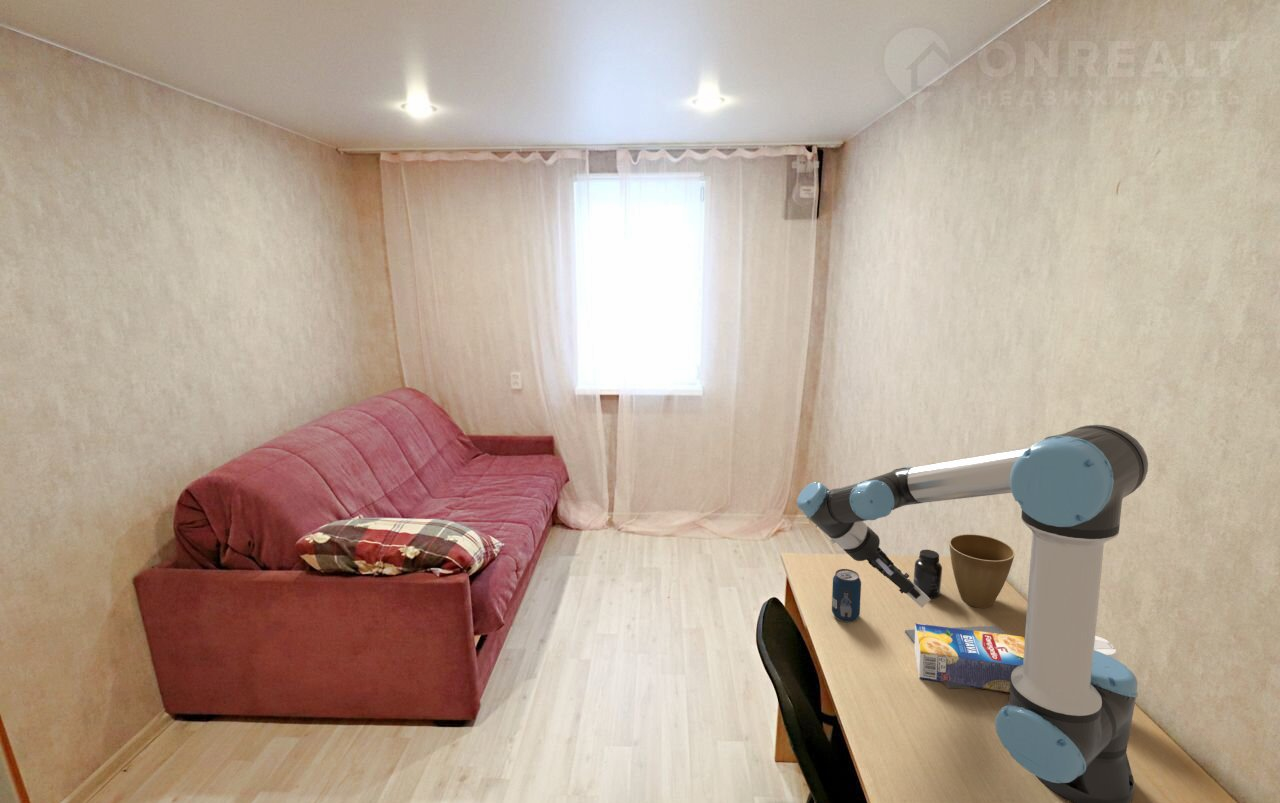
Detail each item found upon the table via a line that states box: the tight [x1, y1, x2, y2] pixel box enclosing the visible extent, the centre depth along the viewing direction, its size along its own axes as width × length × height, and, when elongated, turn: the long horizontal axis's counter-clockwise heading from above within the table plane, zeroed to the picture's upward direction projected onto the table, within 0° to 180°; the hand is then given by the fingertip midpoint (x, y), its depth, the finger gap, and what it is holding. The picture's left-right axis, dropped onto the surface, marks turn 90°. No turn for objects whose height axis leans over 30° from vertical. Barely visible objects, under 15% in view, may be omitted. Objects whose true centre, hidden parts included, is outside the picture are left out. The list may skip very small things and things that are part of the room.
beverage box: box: [914, 623, 1025, 694], centre depth 127 cm, size 7×11×22 cm
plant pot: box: [948, 533, 1016, 609], centre depth 153 cm, size 15×15×16 cm
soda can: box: [831, 568, 862, 623], centre depth 149 cm, size 7×7×12 cm
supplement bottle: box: [912, 549, 943, 600], centre depth 158 cm, size 7×7×12 cm
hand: (924, 601), depth 130 cm, fingers closed
